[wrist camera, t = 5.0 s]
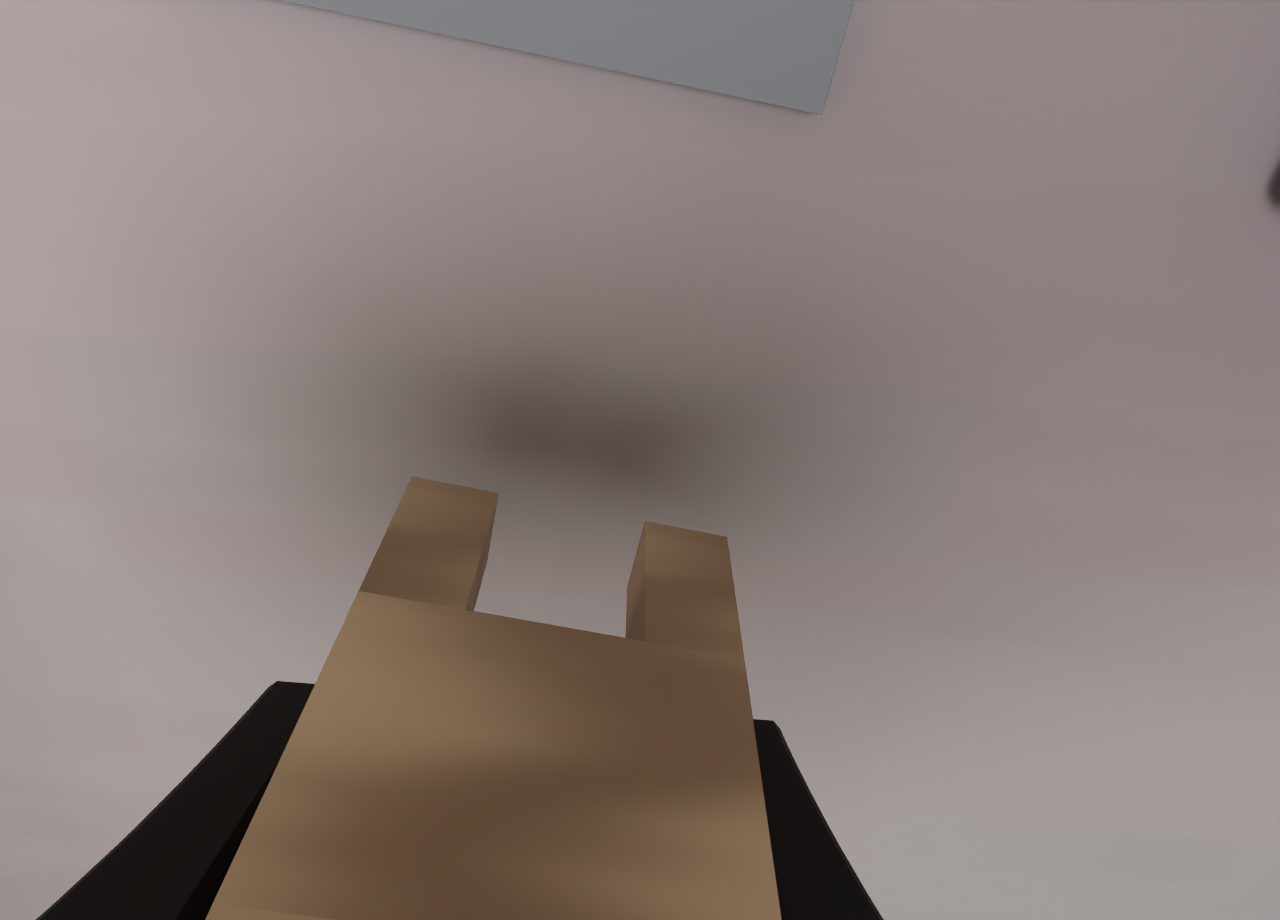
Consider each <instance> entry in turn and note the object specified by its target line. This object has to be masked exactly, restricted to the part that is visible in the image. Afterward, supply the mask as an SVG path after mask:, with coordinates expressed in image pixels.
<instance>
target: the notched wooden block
mask: <svg viewBox="0 0 1280 920" xmlns="http://www.w3.org/2000/svg"><path fill="white" fill-rule="evenodd" d="M497 499H498V493H494V492H488V491H483V490H478V489H473V488H467V487H462V486H457V485H452V484H446V483H441V482H436V481H431V480H426V479H420V478H415V477H412V478H411V480H410V482H409V484H408V487H407V489H406V491H405V493H404V495H403V497H402V499H401V502H400V504H399V506H398V508H397V510H396V512H395V514H394V517H393V519H392V521H391V523H390V525H389V527H388V529H387V532H386V534H385V536H384V538H383V540H382V542H381V544H380V547H379V549H378V551H377V553H376V555H375V557H374V559H373V562H372V564H371V566H370V568H369V570H368V572H367V574H366V576H365V579H364V581H363V583H362V585H361V587H360V589H359V591H358V594H357V596H356V598H355V600H354V602H353V604H352V606H351V609H350V611H349V613H348V615H347V617H346V619H345V621H344V624H343V626H342V628H341V630H340V632H339V634H338V636H337V639H336V641H335V643H334V645H333V647H332V649H331V651H330V654H329V656H328V658H327V660H326V662H325V664H324V666H323V669H322V671H321V673H320V675H319V677H318V679H317V681H316V684H315V686H314V688H313V690H312V692H311V694H310V696H309V699H308V701H307V703H306V705H305V707H304V709H303V711H302V714H301V716H300V718H299V720H298V722H297V724H296V726H295V729H294V731H293V733H292V735H291V737H290V739H289V741H288V744H287V746H286V748H285V750H284V752H283V754H282V756H281V759H280V761H279V763H278V765H277V767H276V769H275V771H274V774H273V776H272V778H271V780H270V782H269V784H268V786H267V789H266V791H265V793H264V795H263V797H262V799H261V801H260V804H259V806H258V808H257V810H256V812H255V814H254V816H253V819H252V821H251V823H250V825H249V827H248V829H247V831H246V833H245V836H244V838H243V840H242V842H241V844H240V846H239V848H238V851H237V853H236V855H235V857H234V859H233V861H232V863H231V866H230V868H229V870H228V872H227V874H226V876H225V878H224V881H223V883H222V885H221V887H220V889H219V891H218V893H217V896H216V898H215V900H214V902H213V904H212V906H211V908H210V911H209V913H208V915H207V917H206V919H205V920H782V919H781V912H780V905H779V898H778V891H777V884H776V877H775V870H774V863H773V856H772V849H771V842H770V835H769V828H768V821H767V814H766V807H765V800H764V793H763V786H762V779H761V772H760V765H759V758H758V751H757V744H756V737H755V730H754V723H753V716H752V709H751V702H750V695H749V688H748V681H747V674H746V667H745V660H744V653H743V646H742V639H741V632H740V625H739V618H738V612H737V605H736V598H735V591H734V584H733V577H732V570H731V563H730V556H729V549H728V542H727V537H723V536H718V535H713V534H708V533H703V532H697V531H692V530H687V529H682V528H676V527H671V526H666V525H661V524H656V523H650V522H645V524H644V528H643V532H642V535H641V539H640V543H639V546H638V550H637V554H636V557H635V561H634V564H633V568H632V572H631V575H630V579H629V583H628V586H627V613H626V638H622V637H617V636H611V635H605V634H600V633H594V632H588V631H583V630H577V629H571V628H566V627H560V626H554V625H549V624H543V623H537V622H532V621H526V620H520V619H515V618H509V617H503V616H498V615H492V614H486V613H481V612H475V611H474V607H475V604H476V600H477V596H478V593H479V589H480V585H481V581H482V578H483V574H484V570H485V567H486V563H487V558H488V552H489V546H490V540H491V534H492V528H493V523H494V517H495V511H496V505H497Z"/></svg>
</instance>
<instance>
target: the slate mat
mask: <svg viewBox="0 0 1280 920" xmlns="http://www.w3.org/2000/svg"><path fill="white" fill-rule="evenodd" d="M282 1H286V2H291V3H296V4H300V5H305V6H310V7H315V8H319V9H324V10H329V11H334V12H338V13H343V14H348V15H352V16H357V17H362V18H367V19H371V20H376V21H381V22H385V23H390V24H395V25H400V26H404V27H409V28H414V29H419V30H423V31H428V32H433V33H437V34H442V35H447V36H452V37H456V38H461V39H466V40H470V41H475V42H480V43H485V44H489V45H494V46H499V47H504V48H508V49H513V50H518V51H522V52H527V53H532V54H537V55H541V56H546V57H551V58H556V59H560V60H565V61H570V62H574V63H579V64H584V65H589V66H593V67H598V68H603V69H607V70H612V71H617V72H622V73H626V74H631V75H636V76H641V77H645V78H650V79H655V80H659V81H664V82H669V83H674V84H678V85H683V86H688V87H692V88H697V89H702V90H707V91H711V92H716V93H721V94H726V95H730V96H735V97H740V98H744V99H749V100H754V101H759V102H763V103H768V104H773V105H777V106H782V107H787V108H792V109H796V110H801V111H806V112H811V113H815V114H820V115H822V112H823V108H824V104H825V101H826V97H827V94H828V90H829V87H830V83H831V80H832V76H833V73H834V69H835V65H836V62H837V58H838V55H839V51H840V48H841V44H842V41H843V37H844V33H845V30H846V26H847V23H848V19H849V16H850V12H851V9H852V5H853V1H854V0H282Z"/></svg>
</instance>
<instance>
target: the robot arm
mask: <svg viewBox="0 0 1280 920" xmlns="http://www.w3.org/2000/svg"><path fill="white" fill-rule="evenodd" d="M314 686H315V684H307V683H295V682H282V681H277V682H275V683H274V684H272V685H271V686H270V687H268V688H267V690H266V691H265V692H264V693H263V694H262V695H261V696H260V697H259V699H258V700H257V701H256V702H255V703H254V704H253V705H252V706H251V707H250V709H249V710H248V711H247V712H246V713H245V714H244V715H243V716H242V717H241V718H240V720H239V721H238V722H237V723H236V724H235V725H234V726H233V727H232V728H231V729H230V731H229V732H228V733H227V734H226V735H225V736H224V737H223V738H222V739H221V740H220V741H219V742H218V743H217V745H216V746H215V747H214V748H213V749H212V750H211V751H210V752H209V753H208V754H207V755H206V756H205V757H204V758H203V759H202V760H201V761H200V763H199V764H198V765H197V766H196V767H195V768H194V769H193V770H192V771H191V772H190V773H189V774H188V775H187V776H186V777H185V778H184V779H183V780H182V781H181V782H180V783H179V784H178V785H177V786H176V787H175V788H174V789H173V790H172V791H171V792H170V793H169V794H168V795H167V796H166V797H165V798H164V799H163V800H162V801H161V802H160V803H159V804H158V805H157V806H156V807H155V808H154V809H153V810H152V811H151V812H150V813H149V814H148V815H147V816H146V817H145V818H144V819H143V820H142V821H141V823H140V824H139V825H138V826H137V827H136V828H135V829H133V830H132V831H131V832H130V833H129V834H128V835H127V836H126V837H125V838H124V839H123V840H122V841H121V842H120V843H119V844H118V845H117V846H116V847H115V848H114V849H113V850H111V851H110V852H109V853H108V854H107V855H106V856H105V857H104V858H103V859H102V860H101V861H100V862H99V863H97V864H96V865H95V866H94V867H93V868H92V869H91V870H90V871H89V872H88V873H87V874H86V875H85V876H83V877H82V878H81V879H80V880H79V881H78V882H77V883H76V884H75V885H74V886H73V887H72V888H70V889H69V890H68V891H67V892H66V893H65V894H64V895H63V896H62V897H61V898H60V899H59V900H58V901H56V902H55V903H54V904H53V905H52V906H51V907H50V908H49V909H48V910H46V911H45V912H44V913H43V914H42V915H41V916H40V917H38V918H37V919H36V920H205V919H206V917H207V915H208V913H209V911H210V908H211V906H212V904H213V902H214V900H215V898H216V896H217V893H218V891H219V889H220V887H221V885H222V883H223V881H224V878H225V876H226V874H227V872H228V870H229V868H230V866H231V863H232V861H233V859H234V857H235V855H236V853H237V851H238V848H239V846H240V844H241V842H242V840H243V838H244V836H245V833H246V831H247V829H248V827H249V825H250V823H251V821H252V819H253V816H254V814H255V812H256V810H257V808H258V806H259V804H260V801H261V799H262V797H263V795H264V793H265V791H266V789H267V786H268V784H269V782H270V780H271V778H272V776H273V774H274V771H275V769H276V767H277V765H278V763H279V761H280V759H281V756H282V754H283V752H284V750H285V748H286V746H287V744H288V741H289V739H290V737H291V735H292V733H293V731H294V729H295V726H296V724H297V722H298V720H299V718H300V716H301V714H302V711H303V709H304V707H305V705H306V703H307V701H308V699H309V696H310V694H311V692H312V690H313V688H314ZM753 723H754V730H755V737H756V744H757V751H758V758H759V765H760V772H761V779H762V786H763V793H764V800H765V807H766V814H767V821H768V828H769V835H770V842H771V849H772V856H773V863H774V870H775V877H776V884H777V891H778V898H779V905H780V912H781V919H782V920H883V918H882V917H881V915H880V913H879V912H878V910H877V908H876V907H875V905H874V904H873V902H872V900H871V899H870V897H869V895H868V894H867V892H866V890H865V889H864V887H863V885H862V884H861V882H860V880H859V878H858V877H857V875H856V873H855V872H854V870H853V868H852V866H851V865H850V863H849V861H848V860H847V858H846V856H845V854H844V853H843V851H842V849H841V847H840V846H839V844H838V842H837V840H836V839H835V837H834V835H833V833H832V831H831V830H830V828H829V826H828V824H827V822H826V820H825V819H824V817H823V815H822V813H821V811H820V809H819V807H818V805H817V803H816V802H815V800H814V798H813V796H812V794H811V792H810V790H809V788H808V786H807V784H806V782H805V780H804V778H803V776H802V774H801V772H800V770H799V768H798V766H797V764H796V762H795V760H794V758H793V756H792V754H791V752H790V750H789V748H788V745H787V743H786V741H785V739H784V737H783V735H782V732H781V730H780V728H779V727H778V726H777V725H776V724H775V722H774V721H768V720H756V719H753Z"/></svg>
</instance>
